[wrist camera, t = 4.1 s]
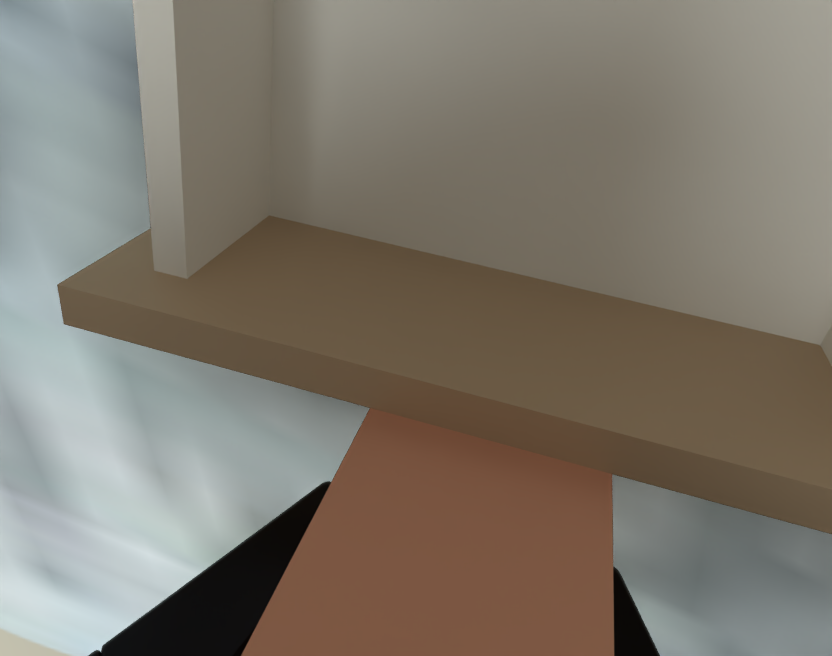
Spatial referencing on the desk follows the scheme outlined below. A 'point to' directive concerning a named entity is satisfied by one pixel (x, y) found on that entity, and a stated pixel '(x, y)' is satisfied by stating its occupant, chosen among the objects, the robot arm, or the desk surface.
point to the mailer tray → (493, 283)
